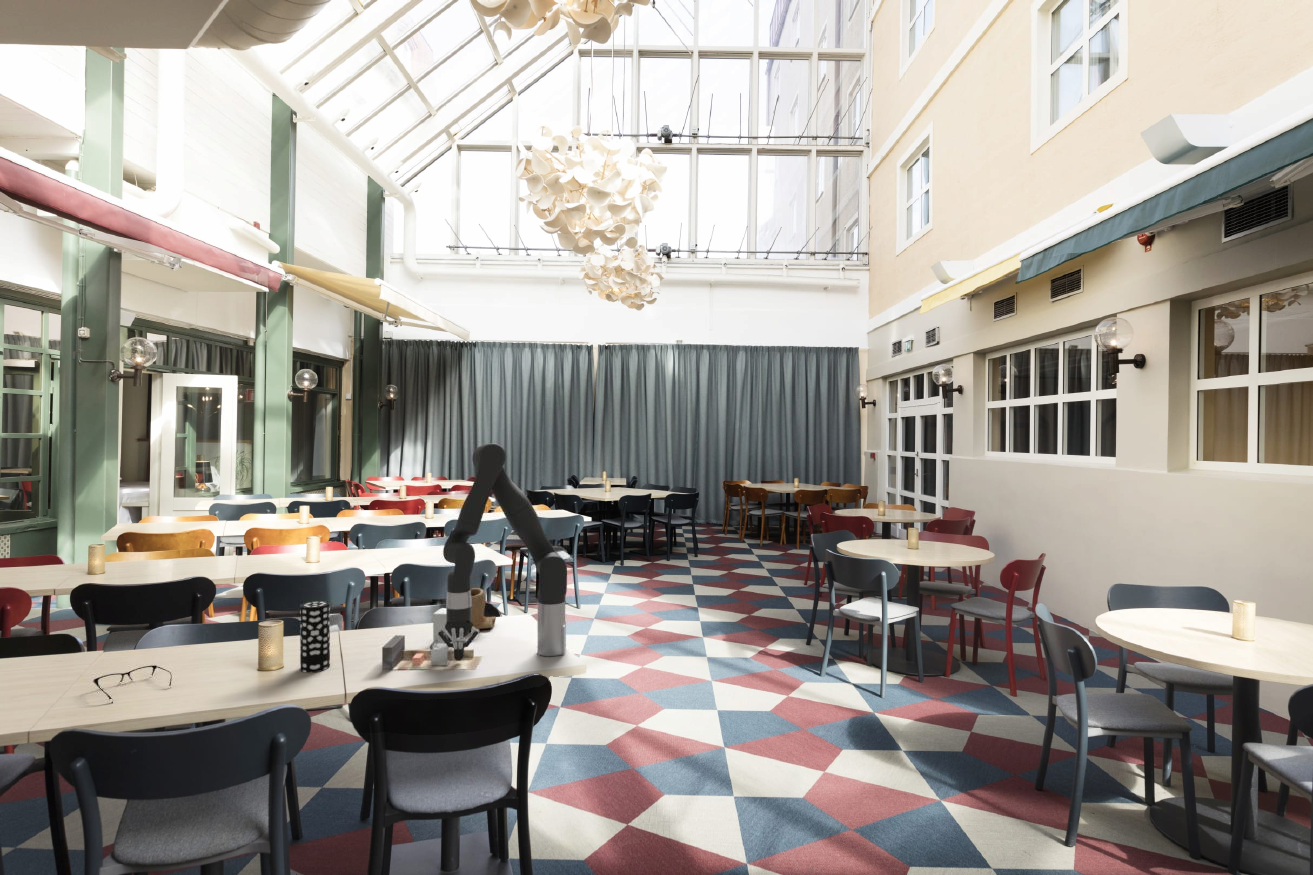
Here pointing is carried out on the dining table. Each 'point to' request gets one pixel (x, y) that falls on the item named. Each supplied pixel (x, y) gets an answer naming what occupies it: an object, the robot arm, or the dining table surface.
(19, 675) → the dining table surface
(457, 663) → the beige long open tray
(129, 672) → the eyeglasses
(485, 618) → the tan piece
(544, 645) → the robot arm
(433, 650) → the carriage
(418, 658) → the pink eraser
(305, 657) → the white-spotted black cylinder
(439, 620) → the supplement box
